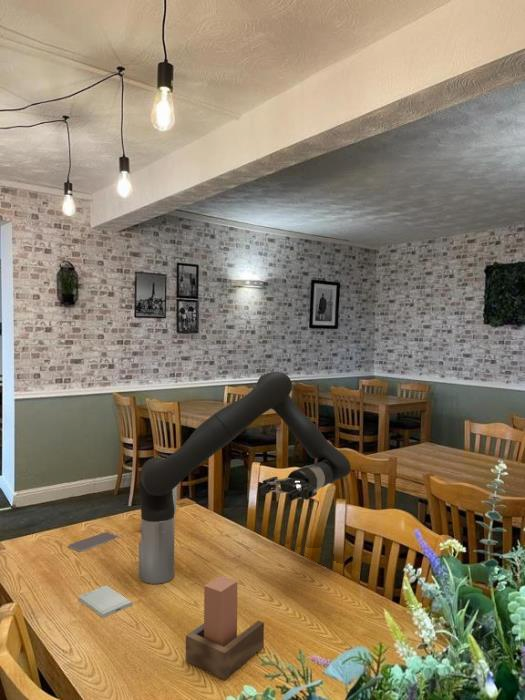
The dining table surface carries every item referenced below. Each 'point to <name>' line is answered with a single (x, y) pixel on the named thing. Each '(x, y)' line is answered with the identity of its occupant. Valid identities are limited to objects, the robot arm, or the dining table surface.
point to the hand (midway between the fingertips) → (274, 494)
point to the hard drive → (105, 601)
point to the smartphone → (92, 542)
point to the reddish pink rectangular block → (220, 610)
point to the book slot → (223, 650)
